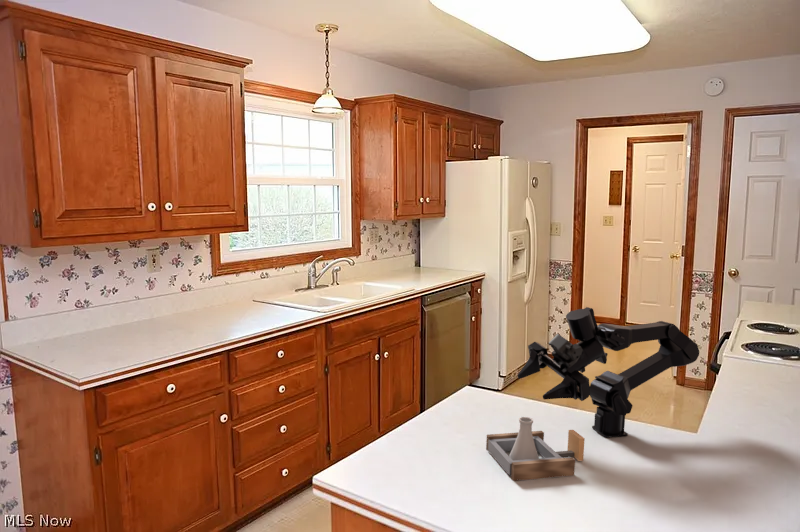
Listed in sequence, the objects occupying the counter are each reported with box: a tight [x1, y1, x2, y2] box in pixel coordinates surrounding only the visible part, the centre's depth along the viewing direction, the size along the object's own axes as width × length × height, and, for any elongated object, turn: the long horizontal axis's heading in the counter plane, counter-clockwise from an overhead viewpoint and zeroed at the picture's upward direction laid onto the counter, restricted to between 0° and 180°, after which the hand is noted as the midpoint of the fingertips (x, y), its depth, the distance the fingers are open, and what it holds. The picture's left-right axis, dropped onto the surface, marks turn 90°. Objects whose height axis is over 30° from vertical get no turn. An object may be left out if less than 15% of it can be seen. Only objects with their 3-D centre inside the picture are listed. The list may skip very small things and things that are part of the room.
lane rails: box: [485, 430, 576, 482], centre depth 130 cm, size 14×16×4 cm
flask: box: [508, 416, 540, 461], centre depth 129 cm, size 7×7×10 cm
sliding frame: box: [487, 429, 586, 476], centre depth 130 cm, size 19×12×5 cm, turn 102°
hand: (530, 387), depth 137 cm, fingers open, 9 cm apart
